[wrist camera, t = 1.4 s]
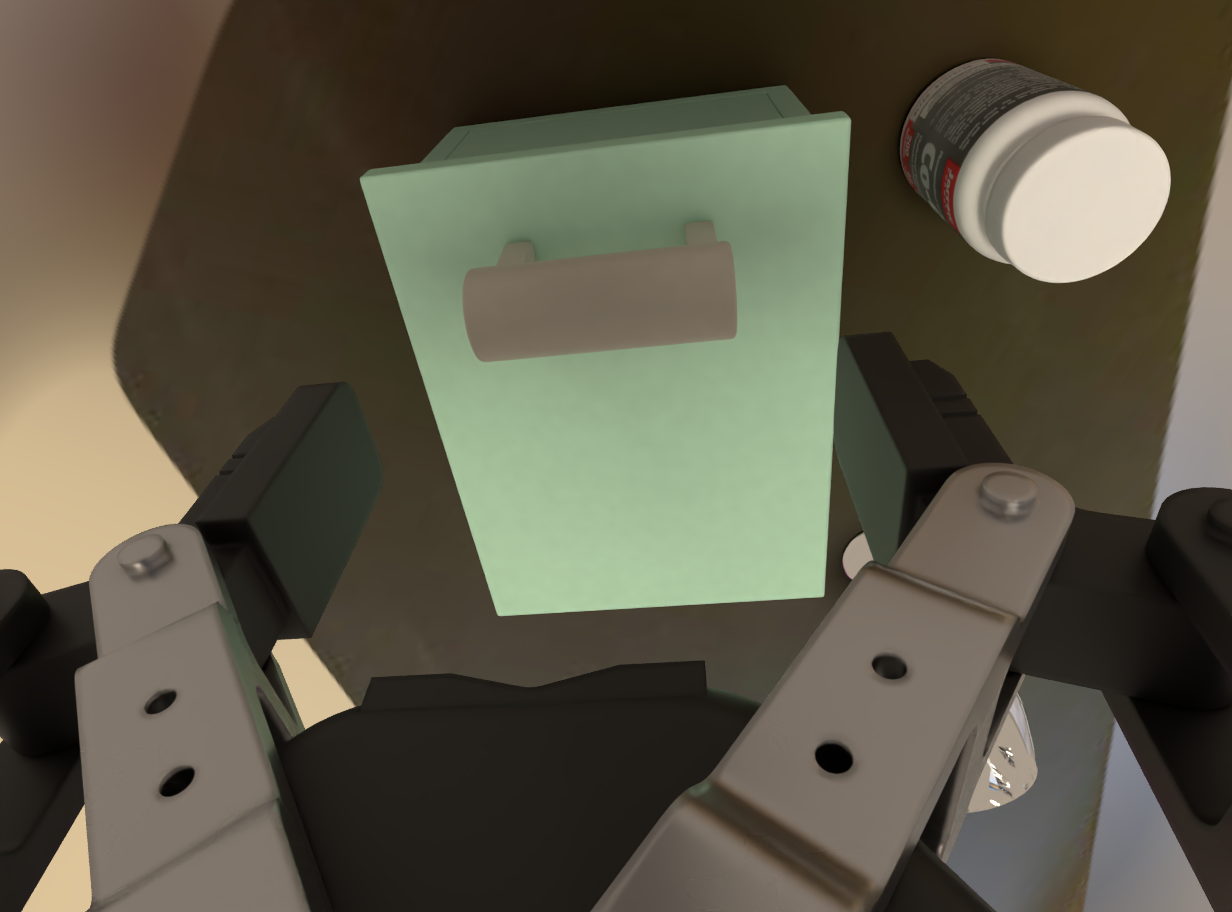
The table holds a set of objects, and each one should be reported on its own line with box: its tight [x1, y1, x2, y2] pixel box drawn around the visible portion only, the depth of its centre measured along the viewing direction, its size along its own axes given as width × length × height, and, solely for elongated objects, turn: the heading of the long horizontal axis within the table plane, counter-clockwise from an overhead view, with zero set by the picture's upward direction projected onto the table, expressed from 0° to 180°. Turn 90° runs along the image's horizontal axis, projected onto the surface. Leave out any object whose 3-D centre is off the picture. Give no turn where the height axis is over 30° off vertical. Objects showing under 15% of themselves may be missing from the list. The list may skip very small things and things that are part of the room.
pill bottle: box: [900, 59, 1171, 283], centre depth 22 cm, size 5×5×8 cm
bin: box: [421, 85, 811, 163], centre depth 26 cm, size 15×12×9 cm
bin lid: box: [360, 111, 851, 616], centre depth 20 cm, size 16×12×5 cm
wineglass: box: [842, 532, 1037, 813], centre depth 32 cm, size 6×6×12 cm
